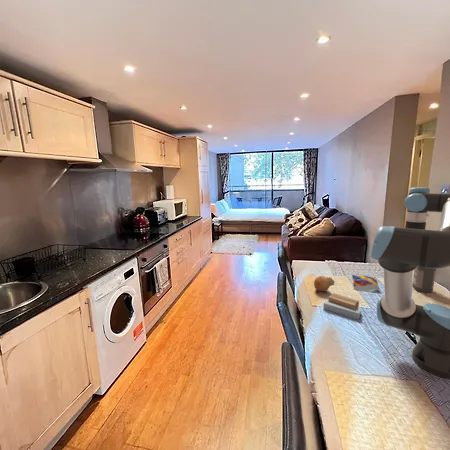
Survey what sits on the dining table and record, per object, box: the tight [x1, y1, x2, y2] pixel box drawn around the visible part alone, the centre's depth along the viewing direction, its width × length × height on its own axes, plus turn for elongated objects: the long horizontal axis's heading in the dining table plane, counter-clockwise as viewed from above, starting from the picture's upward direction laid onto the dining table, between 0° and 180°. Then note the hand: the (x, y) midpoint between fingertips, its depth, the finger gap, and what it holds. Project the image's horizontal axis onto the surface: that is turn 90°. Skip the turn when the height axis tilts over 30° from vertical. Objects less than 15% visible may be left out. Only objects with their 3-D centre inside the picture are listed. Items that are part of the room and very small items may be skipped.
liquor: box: [412, 266, 437, 294], centre depth 156 cm, size 9×9×30 cm
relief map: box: [351, 274, 382, 294], centre depth 170 cm, size 25×15×2 cm, turn 156°
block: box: [327, 292, 360, 311], centre depth 140 cm, size 7×14×6 cm, turn 43°
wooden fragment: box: [326, 276, 335, 288], centre depth 173 cm, size 26×11×1 cm, turn 136°
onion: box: [313, 275, 331, 293], centre depth 162 cm, size 10×10×10 cm
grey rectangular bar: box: [323, 300, 361, 320], centre depth 136 cm, size 3×18×4 cm, turn 50°
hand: (410, 268), depth 119 cm, fingers closed
